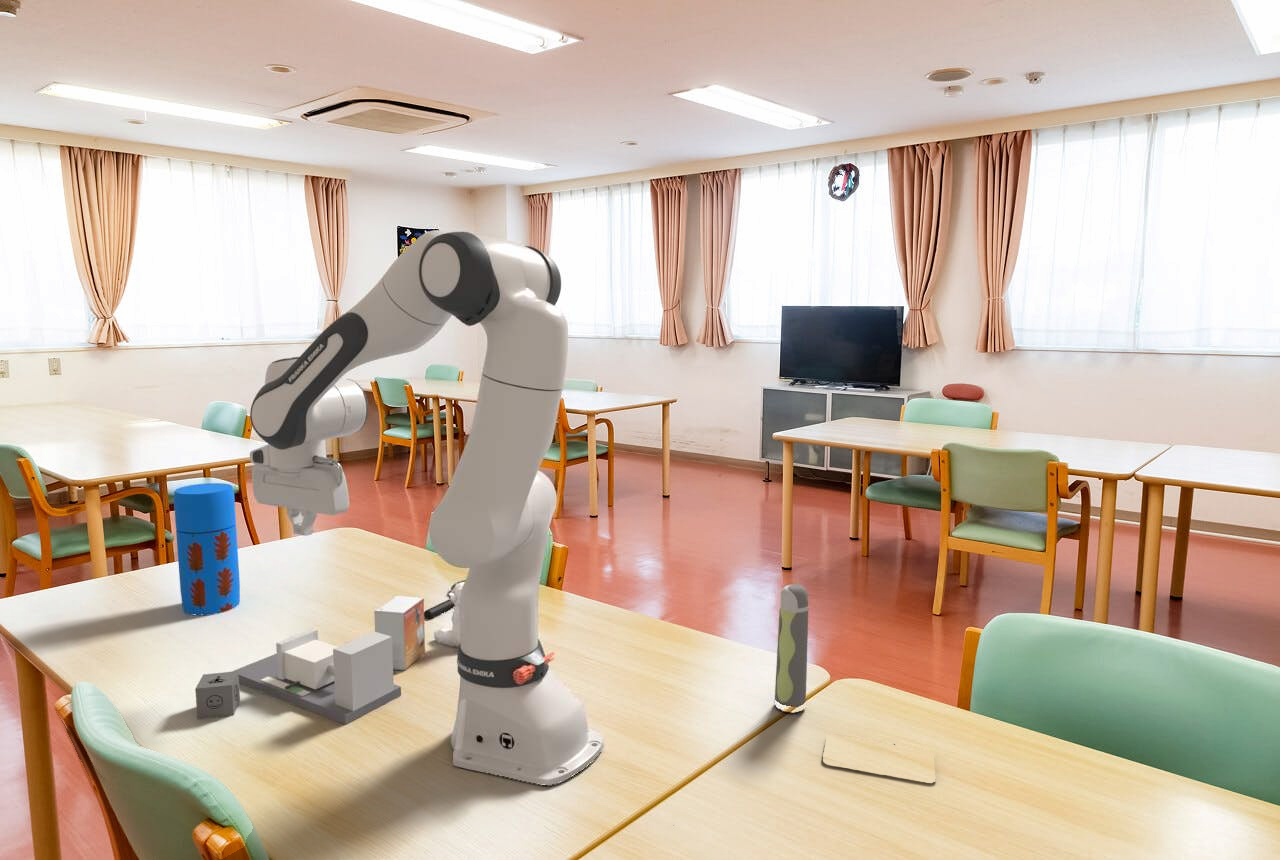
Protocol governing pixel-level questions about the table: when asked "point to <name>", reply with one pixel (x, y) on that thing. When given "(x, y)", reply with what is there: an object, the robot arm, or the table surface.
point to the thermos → (207, 548)
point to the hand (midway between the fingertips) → (303, 534)
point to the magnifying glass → (440, 607)
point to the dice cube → (217, 695)
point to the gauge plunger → (305, 660)
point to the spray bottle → (792, 647)
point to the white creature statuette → (446, 634)
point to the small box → (403, 628)
